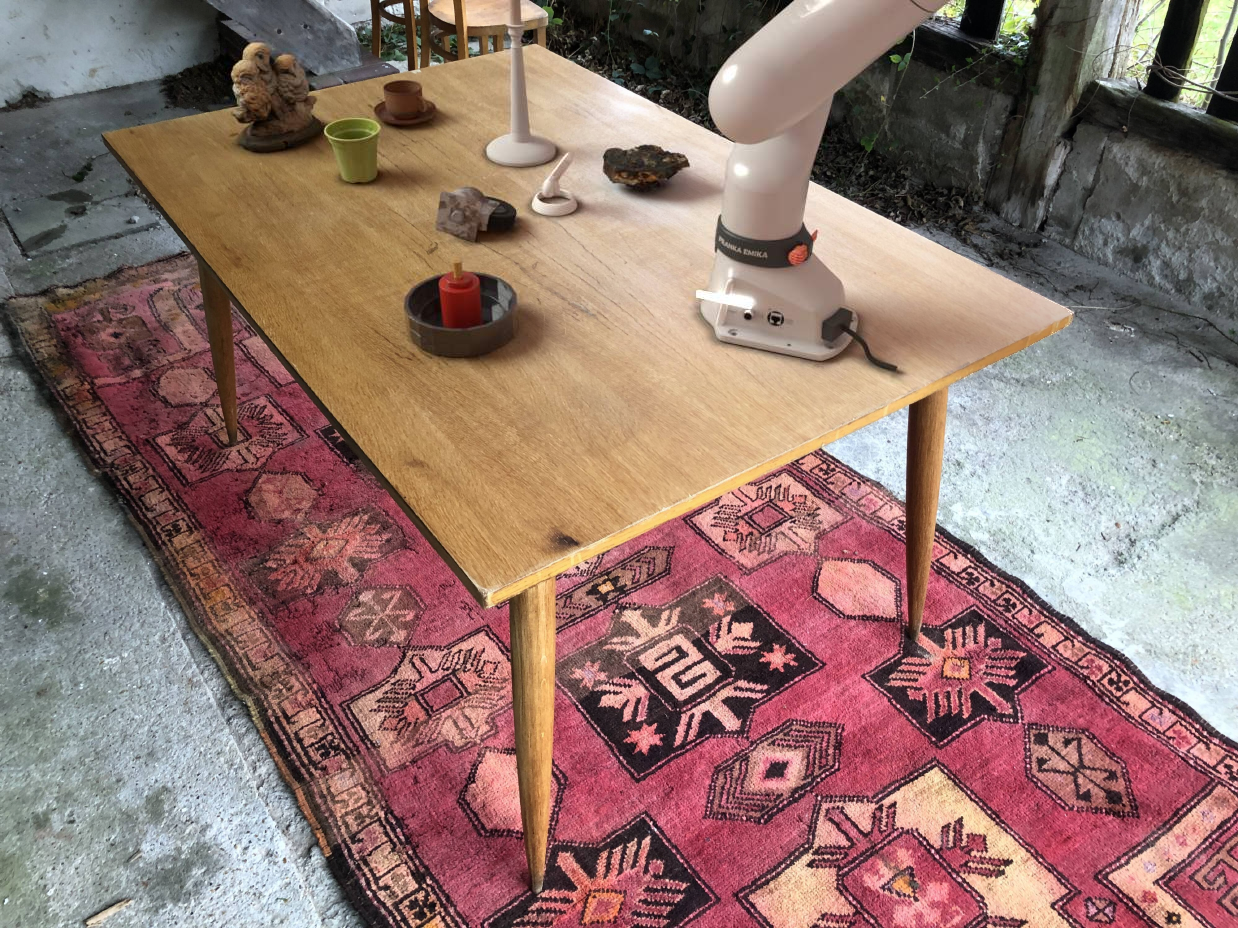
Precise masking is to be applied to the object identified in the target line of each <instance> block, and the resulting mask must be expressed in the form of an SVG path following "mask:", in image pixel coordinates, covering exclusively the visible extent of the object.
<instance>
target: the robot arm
mask: <svg viewBox="0 0 1238 928" xmlns="http://www.w3.org/2000/svg"><path fill="white" fill-rule="evenodd" d="M950 2H951V0H793V1H792V2H791V3H789V5H787V6H786V7H785V8H783V9H782V10H781V11H780V12H779V13H778V14H777V15H775V16H774V17H773V18H772V19H770V21H768V22H767V23H766V24H765V25H764V26H763V27H761V28H760V30H758V31H756V33H754V34H753V35H752V36H751V37H750V38H749V39H748V40H747V41H746V42H744V43H743V44H742V45H741V46H740V47H739V48H738V49H736V50H735V51H734V52H733V53H732V54H731V55H730V56H729V57H728V58H727V60H726V61H725V62H724V63H723V65H722V66H721V67H720V69H719V71H718V72H717V74H716V75H715V77H714V79H713V80H712V82H711V84H710V86H709V87H710V88H709V91H708V109H709V114H710V116H711V119H712V122H713V123H714V125H715V126H716V128H717V130H718V131H720V133H721V134H723V135H724V136H725V137H726V138H727V139H729V140H730V141H732V142H734V143H733V147H732V150H731V151H730V153H729V156H728V158H727V161H726V165H725V172H724V183H723V193H722V204H721V212H720V214H719V215H718V217H717V222H716V227H715V232H714V233H715V234H714V253H715V258H714V262H713V267H712V271H711V274H710V279H709V282H708V285H707V288H706V291H703V290H699V289H697V290H696V296H695V297H696V298H699V299H702V300H701V302H700V311H701V314H702V316H703V318H704V319H705V320H706V321H707V322H708V323H709V324H710V325H711V326H712V328H713V330H714V334H715V337H716V338H717V340H719V341H721V342H724V343H728V344H733V345H739V346H743V347H749V348H754V349H758V350H762V351H763V350H764V351H766V352H767V351H769V352H771V353H778V354H782V355H787V356H793V357H797V358H802V359H807V360H811V361H818V362H823V361H825V360H826V361H827V360H829V359H832V358H833V357H836V356H837V355H839V354H840V353H842V352H843V351H844V350H845V349H846V348H847V347H848V346H849V345H850V344H851V342H852V341H853V339H854V340H855V341H856V342H858V343H859V345H860V346H861V347H862V349H863V352H864V354H865V356H866V358H867V360H869V362H871V363H872V364H874V365H875V366H878V367H880V368H883V369H886V370H891V371H894V372H896V371H897V369H898V366H897V365H895V364H892V363H888V362H885V361H881V360H879V359H877V358H876V357H875V356H873V354H872V353H871V350H870V348H869V345H868V343H867V342H866V341H865V340H864V338H863V337H861V336H860V335H859V334H858V333H857V330H858V323H859V318H858V315H857V312H856V311H855V310H854V309H853V308H850V307H848V306H846V293H845V287H844V284H843V282H842V280H841V279H840V278H839V276H837V275H836V274H835V273H834V272H833V271H832V270H831V269H830V268H828V266H827V265H826V264H825V263H824V262H823V261H822V260H821V259H820V258H819V257H818V256H817V255H816V254H815V253H814V252H813V249H814V242H815V241H816V240H817V238H818V233H819V230H818V229H816V230H815V231H814V232H813V233H812V234H811V233H810V232H809V229H807V227H806V224H805V222H804V216H805V210H806V205H807V199H808V192H809V186H810V180H811V175H812V170H813V168H814V163H815V159H816V156H817V153H818V150H819V147H820V144H821V141H822V138H823V134H824V132H825V128H826V125H827V122H828V119H829V114H830V111H831V107H832V104H833V100H834V96H835V93H837V92H838V91H839V90H841V89H842V88H843V87H844V86H846V85H847V84H848V83H849V82H851V81H852V80H853V79H854V78H855V77H857V76H858V75H859V74H860V73H862V72H863V71H864V70H865V69H867V68H868V67H869V66H871V65H872V63H874V62H875V61H877V60H879V58H880V57H881V56H883V55H884V54H886V52H888V51H889V50H891V48H893V47H894V46H896V44H898V43H899V42H900V41H902V40H903V39H904V38H906V37H907V36H908V35H909V34H911V33H912V32H913V31H915V30H916V29H917V28H918V27H920V26H921V25H922V24H923V23H925V21H926V22H927V20H928V19H930V18H931V17H932V16H934V15H935V14H936V13H937V12H939V11H940V10H941V9H943V7H945V6H946V5H947V4H949V3H950Z"/></svg>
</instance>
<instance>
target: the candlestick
mask: <svg viewBox="0 0 1238 928" xmlns="http://www.w3.org/2000/svg"><path fill="white" fill-rule="evenodd" d="M521 4H522V3H521V0H508V15H509V17H508V18H509V20H507V21H505V22H504V25H505V26H506V27H507V28H508V29H507V31H508V32H507V33H508V35H509V36H510V40H511V43H510V127H509V129H510V131H509V132H510V133H507V134H503V135H500V136H498V137H496V138H494V139H493V140H492V141H491V142H490V143H489V144H488V145H487V146H486V156H487V157H488V159H489V160H490V161H492V162H494V163H496V164H499V165H502V166H507V167H513V168H514V167H517V168H525V167H534V166H538V165H543V164H546V163H547V162H550V161H551V160H552V159H553V158H554V157H555V156H556V153H557V152H556V150H557V149H556V146H555V144H554V143H553V142H552V141H551V140H549V139H548V138H547V137H544V136H542V135H539V134H536V133H531V130H530V128H531V126H530V117H529V105H528V95H527V84H526V74H525V63H524V51H523V46H524V45H523V44H522V39H523V37H522V36H524V27H525V26H526V25H527V22H526V21H524V20H522V5H521Z"/></svg>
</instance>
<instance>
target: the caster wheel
mask: <svg viewBox="0 0 1238 928" xmlns="http://www.w3.org/2000/svg"><path fill="white" fill-rule="evenodd" d="M517 214H518V211H517V209H516V208H515V207H514V205H512V204H511V203H510V202H508V201H505V200H503V199H500V198H497V197H493V196H487V195H485V194H484V193H483V192H482V191H481V190H479V188H477V187H474V186H463V187H460V188H457V189H455V190H454V191H452V192H450V191H448V190H444V189H443V190H440V195H439V201H438V208H437V213H436V220H435V224H434V229H435V230H436V231H438V232H442V233H444V234H448V235H451V236H454V237H457V238H460V239H462V240H467V241H469V242H471V243H472V242H476V237H477V231H483V232H487V231H490V232H491V231H492V232H508V231H511V230H512V229H514V227H515V225H516V219H517Z"/></svg>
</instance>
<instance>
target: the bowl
mask: <svg viewBox="0 0 1238 928" xmlns="http://www.w3.org/2000/svg"><path fill="white" fill-rule="evenodd" d="M468 272H469V273H471V274H473V275H475V276H477V277H478V279H479V283H480V295H481V308H482V320H483V325H480V326H476V327H471V328H458V329H450V328H444V325H443V316H442V307H441V298H440V289H439V281H440V279H441V278H442V277H443V276H445V275H447V274H448V273H449V272H446V273H441V274H437V275H434V276H431V277H429V278H426V279H424V280H422V281H420V282H419V283H417V284H416V285H414V286H413V287H412V288H410V290H409V291H408V292H407V294H406V295H405V297H404V303H403V311H404V318H405V325H406V333H407V334H408V337H409V339H410V341H411V342H412V343H413V344H414V345H415V346H417V347H418V348H419V349H420V350H423V351H424V352H426V353H427V352H428V353H430V354H433V355H435V356H441V357H447V358H471V357H478V356H482V355H486V354H490V353H492V352H494V351H496V350H499V349H501V348H503V347H504V346H506V345H507V344H508V343H510V342H511V340H513V339H514V337H515V335H516V334H517V332H518V330H519V312H518V295H517V292H516V291H515V289H514V288H513V286H512V285H511V284H510V283H509V282H507V281H506V280H504V279H502V278H500V277H498V276H495V275H492V274H488V273H486V272H485V273H484V272H476V271H468Z"/></svg>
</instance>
